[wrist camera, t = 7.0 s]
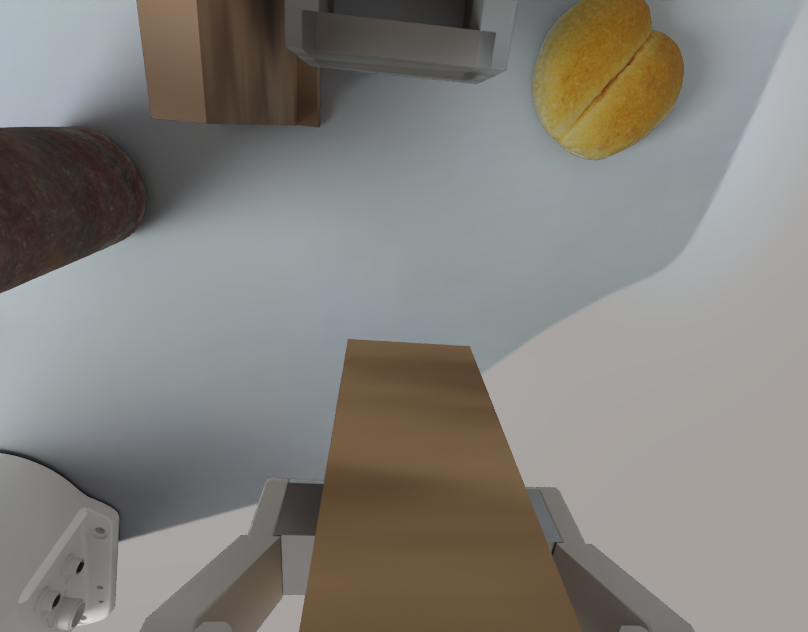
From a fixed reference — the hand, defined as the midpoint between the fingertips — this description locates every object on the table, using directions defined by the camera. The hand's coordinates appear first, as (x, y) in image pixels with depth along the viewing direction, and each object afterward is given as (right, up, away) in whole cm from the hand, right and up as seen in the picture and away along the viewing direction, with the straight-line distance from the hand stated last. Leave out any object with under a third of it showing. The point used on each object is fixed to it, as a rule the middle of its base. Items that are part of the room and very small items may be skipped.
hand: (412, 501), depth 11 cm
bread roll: (+12, +20, +17) cm, 29 cm away
